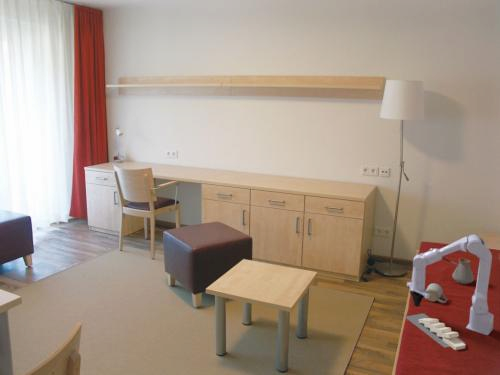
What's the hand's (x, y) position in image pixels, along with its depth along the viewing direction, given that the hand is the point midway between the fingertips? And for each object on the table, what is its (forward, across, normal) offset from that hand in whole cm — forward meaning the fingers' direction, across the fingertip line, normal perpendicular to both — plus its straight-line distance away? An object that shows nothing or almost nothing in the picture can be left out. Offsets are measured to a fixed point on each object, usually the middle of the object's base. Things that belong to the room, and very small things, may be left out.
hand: (416, 305), depth 210 cm
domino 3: (+5, +13, 0) cm, 14 cm away
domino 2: (+5, +9, 0) cm, 10 cm away
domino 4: (+5, +17, 0) cm, 18 cm away
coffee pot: (+6, -29, +48) cm, 56 cm away
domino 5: (+5, +21, 0) cm, 22 cm away
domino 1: (+5, +5, 0) cm, 7 cm away
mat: (+6, +12, 0) cm, 14 cm away
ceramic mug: (+7, -12, +22) cm, 26 cm away
